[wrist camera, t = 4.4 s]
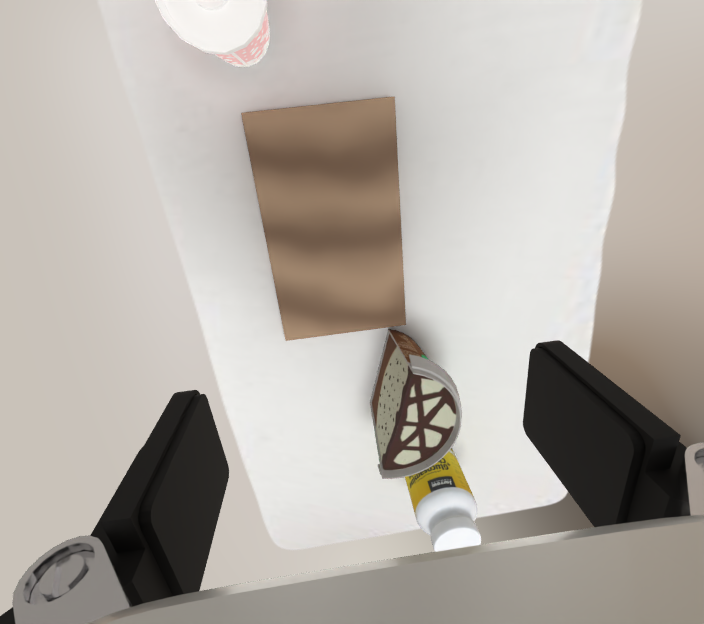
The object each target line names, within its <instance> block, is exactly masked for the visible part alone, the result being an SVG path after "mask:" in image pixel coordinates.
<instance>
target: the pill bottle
mask: <svg viewBox="0 0 704 624" xmlns="http://www.w3.org/2000/svg"><path fill="white" fill-rule="evenodd" d="M405 478H406V482H407V486H408V490H409V494H410V497H411V501H412V505H413V509H414V512H415V516H416V520H417V522H418V524H419V526H420V528H421V529H422V530H423V531H424V532H426V533H427V534H429V535H431V541H432V545H433V548H434V550H435V552H438V551H444V550H450V549H457V548H463V547H469V546H476V545H480V544H481V536H480V533H479V531H478V528H477V526H476V524H475V523H474V521H475V519H476V517H477V504H476V501H475V499H474V496H473V494H472V492H471V490H470V488H469V485H468V483H467V481H466V479H465V476H464V474H463V472H462V470H461V467H460V465H459V463H458V461H457V459H456V456H455V454H454V452H453V450H452V448H451V449H450V450H449V452H448V453H447V454H446V455H445V456H444V457H443V458H442V459H441V460H439V461H438V462H437V463H436V464H434V465H433V466H431V467H429V468H428V469H426V470H424V471H422V472H419V473H417V474H414V475H411V476H407V477H405Z"/></svg>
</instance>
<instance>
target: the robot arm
mask: <svg viewBox="0 0 704 624" xmlns="http://www.w3.org/2000/svg"><path fill="white" fill-rule="evenodd" d="M523 427H524V430H525V433H526V435H527V436H528V438H529V439H530V440H531V442H532V443H533V444H534V446H535V447H536V448H537V450H538V451H539V452H540V454H541V455H542V457H543V458H544V459H545V461H546V462H547V463H548V465H549V466H550V467H551V469H552V470H553V471H554V473H555V474H556V476H557V477H558V478H559V480H560V481H561V482H562V484H563V485H564V486H565V488H566V489H567V490H568V492H569V493H570V495H571V496H572V497H573V499H574V500H575V501H576V503H577V504H578V505H579V507H580V508H581V509H582V511H583V512H584V514H585V515H586V516H587V518H588V519H589V520H590V522H591V523H592V524H593V526H594V527H593V528H587V529H580V530H574V531H568V532H561V533H554V534H547V535H541V536H534V537H528V538H521V539H514V540H508V541H502V542H495V543H488V544H482V545H476V546H469V547H463V548H457V549H450V550H444V551H438V552H431V553H425V554H419V555H413V556H406V557H400V558H394V559H387V560H381V561H375V562H368V563H362V564H356V565H350V566H344V567H338V568H332V569H326V570H320V571H314V572H308V573H301V574H296V575H290V576H284V577H277V578H271V579H266V580H259V581H253V582H248V583H242V584H237V585H231V586H226V587H220V588H215V589H209V590H204V591H199V590H200V586H201V582H202V578H203V574H204V571H205V567H206V563H207V559H208V555H209V552H210V548H211V544H212V540H213V536H214V532H215V528H216V524H217V521H218V517H219V513H220V509H221V505H222V502H223V498H224V494H225V490H226V486H227V482H228V478H229V468H228V464H227V460H226V457H225V454H224V451H223V447H222V444H221V441H220V438H219V435H218V431H217V428H216V425H215V422H214V419H213V415H212V412H211V409H210V406H209V403H208V399H207V397H206V395H205V394H201V395H200V393H199V392H198V391H197V390H192V391H184V392H177V393H175V394H174V395H173V396H172V398H171V399H170V401H169V403H168V405H167V406H166V408H165V410H164V412H163V413H162V415H161V417H160V419H159V421H158V422H157V424H156V426H155V428H154V429H153V431H152V433H151V434H150V437H149V438H148V440H147V441H146V443H145V445H144V447H142V448H141V450H140V451H139V452H138V454H137V456H136V458H135V459H134V461H133V463H132V464H131V466H130V468H129V470H128V471H127V473H126V475H125V477H124V478H123V480H122V482H121V484H120V485H119V487H118V489H117V490H116V492H115V494H114V496H113V497H112V499H111V501H110V503H109V504H108V506H107V508H106V509H105V511H104V513H103V515H102V516H101V518H100V520H99V522H98V523H97V525H96V527H95V528H94V530H93V532H92V534H91V535H90V536H79V537H76V538H73V539H70V540H67V541H65V542H63V543H61V544H59V545H57V546H55V547H53V548H52V549H51V550H49V551H48V552H46V553H45V554H44V555H42V556H41V557H40V558H39V559H38V560H37V561H36V562H35V563H34V564H33V565H32V566H30V567H29V568H28V570H27V571H26V572H25V574H24V575H23V576H22V578H21V579H20V580H19V582H18V585H17V587H16V589H15V591H14V595H13V607H12V608H11V609H10V610H8V611H7V612H5V613H4V614H3V615H1V616H0V624H704V443H697V444H693V445H691V446H690V447H688V448H686V447H685V446H684V445H683V444H681V443H680V442H679V439H680V434H678V433H677V432H676V431H674V430H673V429H672V428H671V427H669V426H668V425H667V424H666V423H664V422H663V421H662V420H660V419H659V418H658V417H657V416H655V415H654V414H653V413H652V412H650V411H649V410H647V409H646V408H645V407H644V406H643V405H641V404H640V403H639V402H638V401H636V400H635V399H634V398H632V397H631V396H630V395H628V394H627V393H626V392H625V391H624V390H622V389H621V388H620V387H618V386H617V385H616V384H614V383H613V382H612V381H611V380H609V379H608V378H607V377H606V376H604V375H603V374H602V373H601V372H599V371H598V370H597V369H596V368H594V367H593V366H592V365H591V364H589V363H588V362H587V361H585V360H584V359H583V358H582V357H580V356H579V355H578V354H577V353H575V352H574V351H573V350H571V349H570V348H569V347H568V346H566V345H565V344H564V343H563V342H561V341H550V342H542V343H538V344H537V345H536V347H535V349H532V350H531V352H530V358H529V368H528V378H527V388H526V398H525V408H524V418H523Z"/></svg>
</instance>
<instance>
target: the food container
mask: <svg viewBox="0 0 704 624" xmlns="http://www.w3.org/2000/svg"><path fill="white" fill-rule="evenodd" d="M370 405H371V412H372V418H373V424H374V430H375V437H376V443H377V449H378V455H379V462H380V464H378V468H379V471H380V474H381V475H382V479H394V478H402V477H407V476H411V475H414V474H417V473H419V472H422V471H424V470H426V469H428V468H429V467H431V466H433V465H434V464H436V463H437V462H438V461H439V460H441V459H442V458H443V457H444V456H445V455H446V454H447V453H448V452H449V450H450V449H451V448H452V446H453V445H454V443H455V441H456V439H457V437H458V435H459V431H460V427H461V418H462V410H461V403H460V398H459V394H458V391H457V388H456V385H455V383H454V382H453V380H452V378H451V377H450V376H449V375H448V373H447V372H446V371H445V370H444V369H442V368H441V367H440V366H439V365H437V364H435V363H433V362H432V361H430V360H428V358H427V357H426V356H425V354H424V353H423V352H422V350H421V349H420V347H419V346H418V345H417V344H416V343H415V341H414V340H413V339H411V338H410V337H409V336H407V335H406V334H404V333H402V332H399V331H396V330H391V329H388V333H387V337H386V341H385V345H384V349H383V353H382V357H381V361H380V365H379V369H378V373H377V377H376V381H375V384H374V388H373V392H372V396H371V400H370Z"/></svg>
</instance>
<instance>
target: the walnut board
mask: <svg viewBox="0 0 704 624" xmlns="http://www.w3.org/2000/svg"><path fill="white" fill-rule="evenodd" d="M241 115H242V120H243V125H244V130H245V135H246V140H247V145H248V151H249V156H250V161H251V166H252V171H253V176H254V181H255V186H256V191H257V196H258V202H259V207H260V212H261V217H262V222H263V227H264V232H265V237H266V242H267V247H268V253H269V258H270V263H271V268H272V273H273V278H274V283H275V288H276V293H277V299H278V304H279V309H280V314H281V319H282V324H283V329H284V334H285V339H286V341H288V340H295V339H303V338H310V337H318V336H325V335H333V334H341V333H348V332H356V331H363V330H371V329H378V328H386V327H393V326H401V325H406V317H405V297H404V277H403V257H402V237H401V217H400V196H399V176H398V156H397V136H396V116H395V97H385V98H376V99H367V100H357V101H348V102H339V103H329V104H320V105H311V106H301V107H292V108H283V109H274V110H264V111H255V112H246V113H241Z"/></svg>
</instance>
